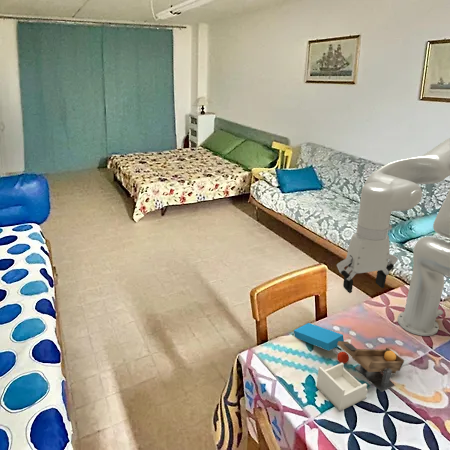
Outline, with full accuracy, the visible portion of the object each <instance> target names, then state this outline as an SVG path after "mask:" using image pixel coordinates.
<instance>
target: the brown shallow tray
mask: <svg viewBox="0 0 450 450" xmlns="http://www.w3.org/2000/svg"><path fill="white" fill-rule="evenodd" d="M337 345H338V346H339V348H341V349H342V350H343V352H346V353H347V354H348V356H350V357H352V359H353V361H355V362H356V363H357V364H359V365H361V366H362V367H363V368H364V369H366V370H367V371H368V372H380V373H382V372H384V370H386V369H388V368H390V369H391V370H392V373H391V375H392V374H396V372H400V371H401V368H402V367H403V364H404V363H405V359H403V358H402V357H400V356H399V355H398V354H396V360H395V361H386V360H385V358H384V354H385V352H386V351H392V350H391V349H389V348H388V347H386V348H385V349H377V348H376V349H372V348H369V349H366V348H365V349H364V348H360V349H359V348H356V347H355V346H354V345H353V344H352V343H350V342H349V341H346V340H344V341H338V343H337Z"/></svg>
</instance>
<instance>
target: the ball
mask: <svg viewBox="0 0 450 450" xmlns="http://www.w3.org/2000/svg"><path fill="white" fill-rule="evenodd" d="M396 355H397V354H396V352H394V351H393V350H391V351H386V352H385V354H384V358H385V360H386V361H395V360H396Z"/></svg>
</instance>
